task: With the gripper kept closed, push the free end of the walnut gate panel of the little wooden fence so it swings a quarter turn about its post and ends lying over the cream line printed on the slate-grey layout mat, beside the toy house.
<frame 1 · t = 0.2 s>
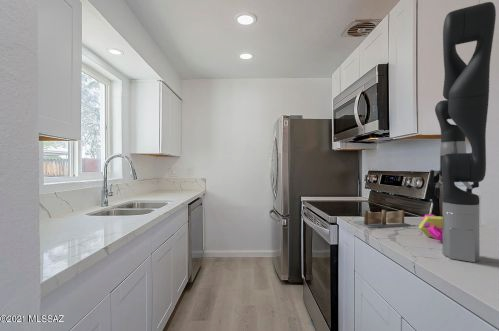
hand: (452, 198, 96), 17 cm above the worktop, tool pointing down, fingers open, 8 cm apart
fence fixed: (384, 225, 128), resting on layout mat
toy house: (435, 238, 105), on the worktop
fence gate: (372, 217, 127), point 4 cm above the worktop, hinge at 0.0°
layout mat: (384, 225, 128), on the worktop
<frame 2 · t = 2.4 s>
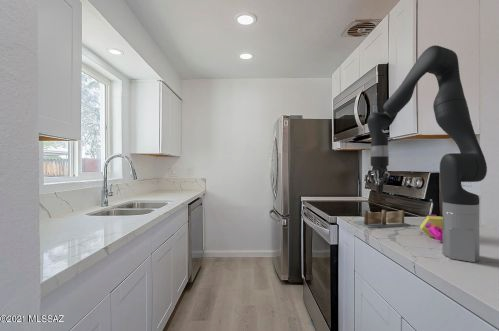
hand: (379, 193, 121), 17 cm above the worktop, tool pointing down, fingers closed
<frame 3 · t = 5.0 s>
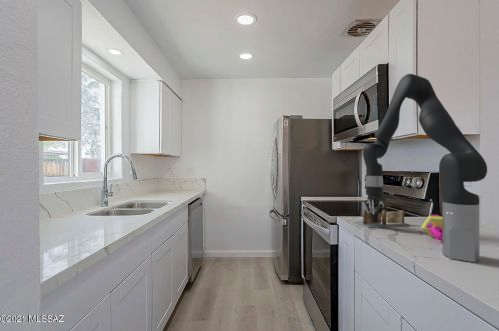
hand: (374, 221, 124), 3 cm above the worktop, tool pointing down, fingers closed
fence gate: (372, 217, 127), point 4 cm above the worktop, hinge at -5.5°, touching gripper
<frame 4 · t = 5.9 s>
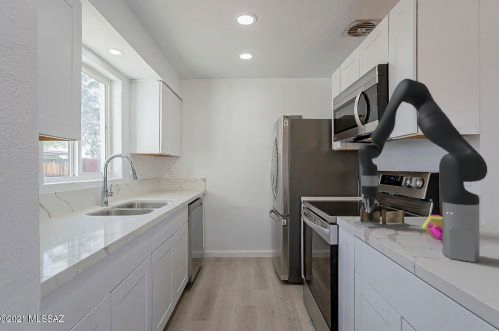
hand: (369, 220, 128), 3 cm above the worktop, tool pointing down, fingers closed
fence gate: (370, 215, 131), point 4 cm above the worktop, hinge at -34.7°
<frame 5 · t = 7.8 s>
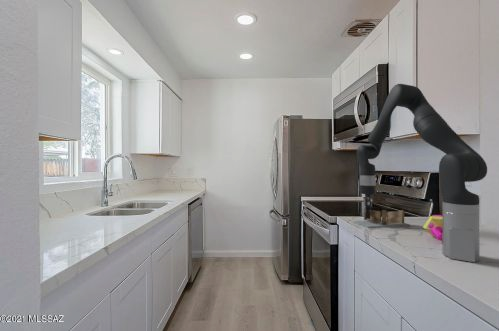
hand: (367, 218, 132), 3 cm above the worktop, tool pointing down, fingers closed
fence gate: (372, 214, 133), point 4 cm above the worktop, hinge at -69.5°, touching gripper
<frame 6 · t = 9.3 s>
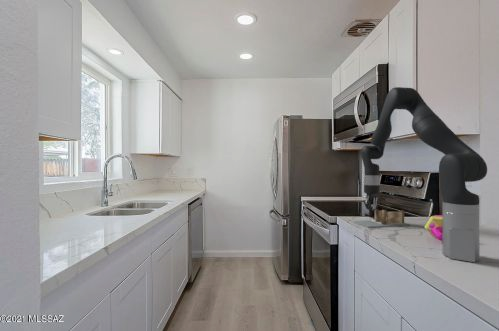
hand: (371, 217, 135), 3 cm above the worktop, tool pointing down, fingers closed
fence gate: (378, 214, 134), point 4 cm above the worktop, hinge at -103.2°, touching gripper
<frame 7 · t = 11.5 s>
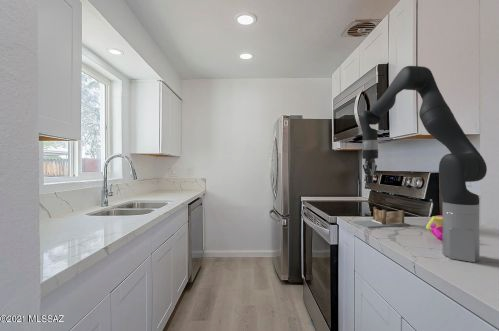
hand: (370, 182, 134), 21 cm above the worktop, tool pointing down, fingers closed
fence gate: (378, 214, 134), point 4 cm above the worktop, hinge at -103.3°
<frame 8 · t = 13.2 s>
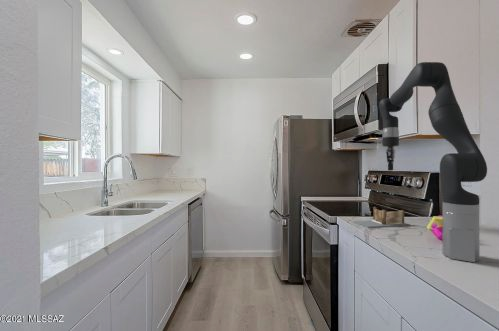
hand: (390, 170, 135), 27 cm above the worktop, tool pointing down, fingers closed
at the end: fence gate at -103° (first picture: +0°); fence gate touching nothing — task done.
